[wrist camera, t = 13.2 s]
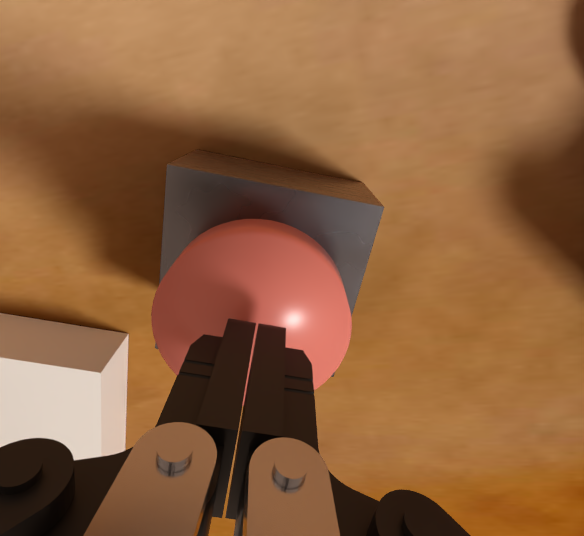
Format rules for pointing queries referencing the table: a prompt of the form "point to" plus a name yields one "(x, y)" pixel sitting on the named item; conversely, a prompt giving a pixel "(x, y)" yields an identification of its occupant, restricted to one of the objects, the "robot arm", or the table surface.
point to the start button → (254, 293)
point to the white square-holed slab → (63, 385)
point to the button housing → (270, 208)
